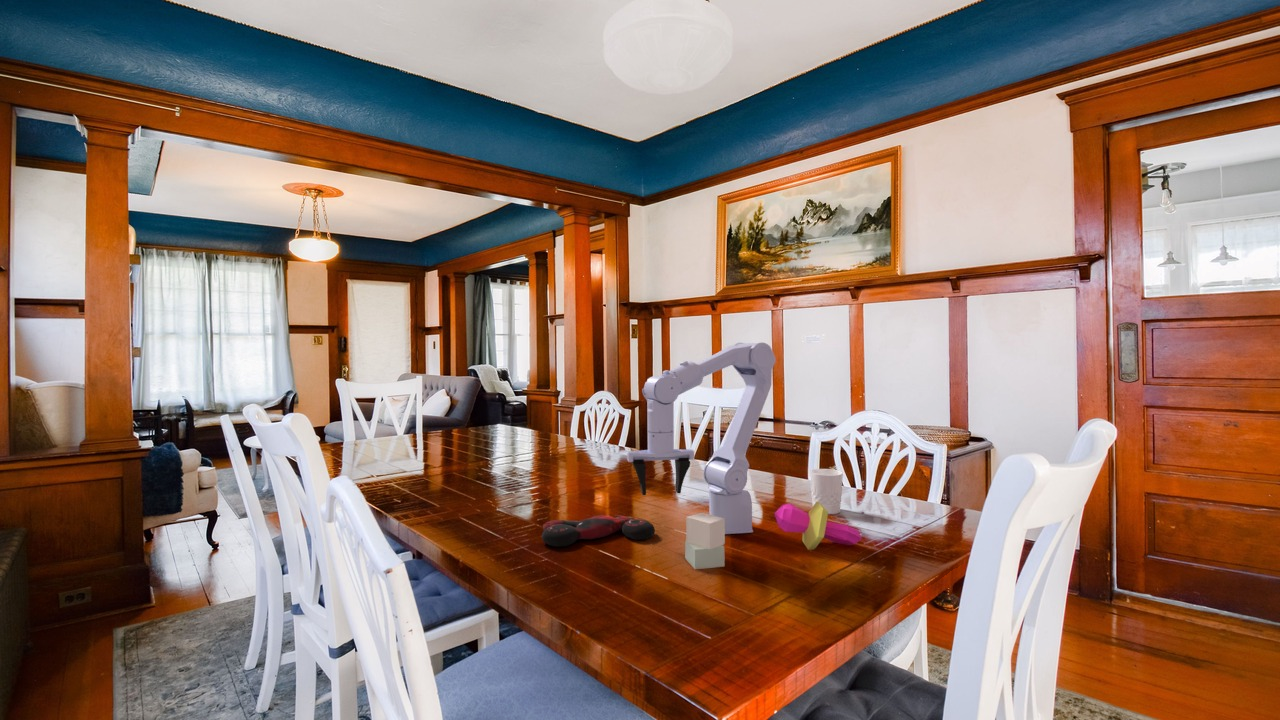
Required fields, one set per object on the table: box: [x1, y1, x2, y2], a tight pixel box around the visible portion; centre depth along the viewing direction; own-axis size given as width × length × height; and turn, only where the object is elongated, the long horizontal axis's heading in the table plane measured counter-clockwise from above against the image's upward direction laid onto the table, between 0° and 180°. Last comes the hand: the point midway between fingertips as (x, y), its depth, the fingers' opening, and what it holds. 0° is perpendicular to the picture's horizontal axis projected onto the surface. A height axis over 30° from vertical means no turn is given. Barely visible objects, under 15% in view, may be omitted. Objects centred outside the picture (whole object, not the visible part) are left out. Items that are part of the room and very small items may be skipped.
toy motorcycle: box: [541, 514, 656, 548], centre depth 132 cm, size 25×5×16 cm
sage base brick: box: [684, 539, 726, 570], centre depth 115 cm, size 6×6×4 cm
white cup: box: [810, 468, 843, 515], centre depth 149 cm, size 8×8×10 cm
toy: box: [774, 502, 862, 551], centre depth 123 cm, size 10×18×10 cm, turn 86°
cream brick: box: [685, 512, 726, 549], centre depth 115 cm, size 4×6×5 cm
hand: (660, 493), depth 127 cm, fingers open, 7 cm apart
